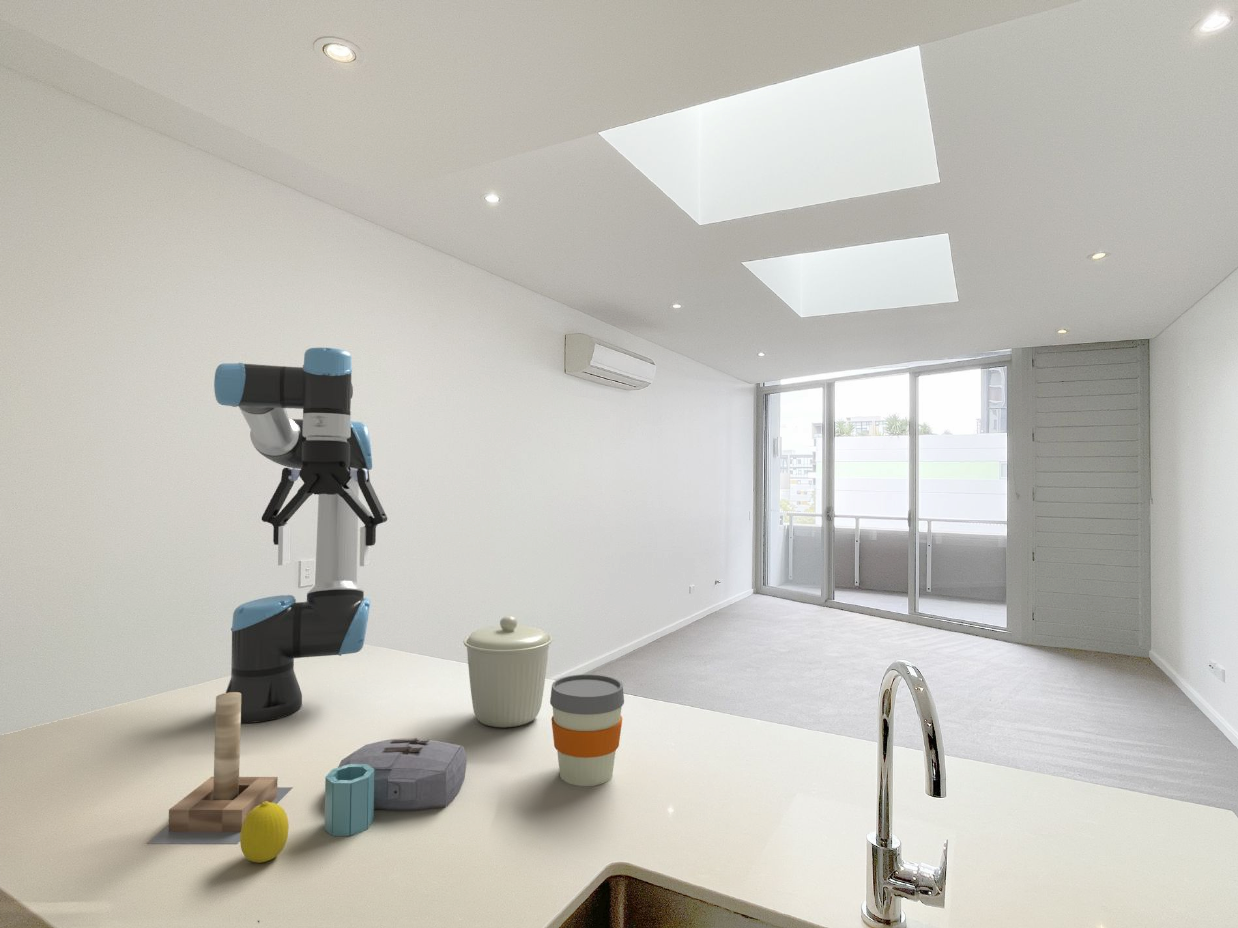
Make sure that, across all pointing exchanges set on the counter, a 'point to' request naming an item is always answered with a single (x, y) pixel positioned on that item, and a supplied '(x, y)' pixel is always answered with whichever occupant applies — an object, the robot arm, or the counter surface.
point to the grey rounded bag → (412, 772)
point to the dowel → (227, 746)
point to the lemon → (264, 832)
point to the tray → (206, 837)
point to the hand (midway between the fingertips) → (324, 564)
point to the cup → (349, 799)
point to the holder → (220, 806)
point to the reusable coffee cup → (586, 726)
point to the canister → (507, 672)
